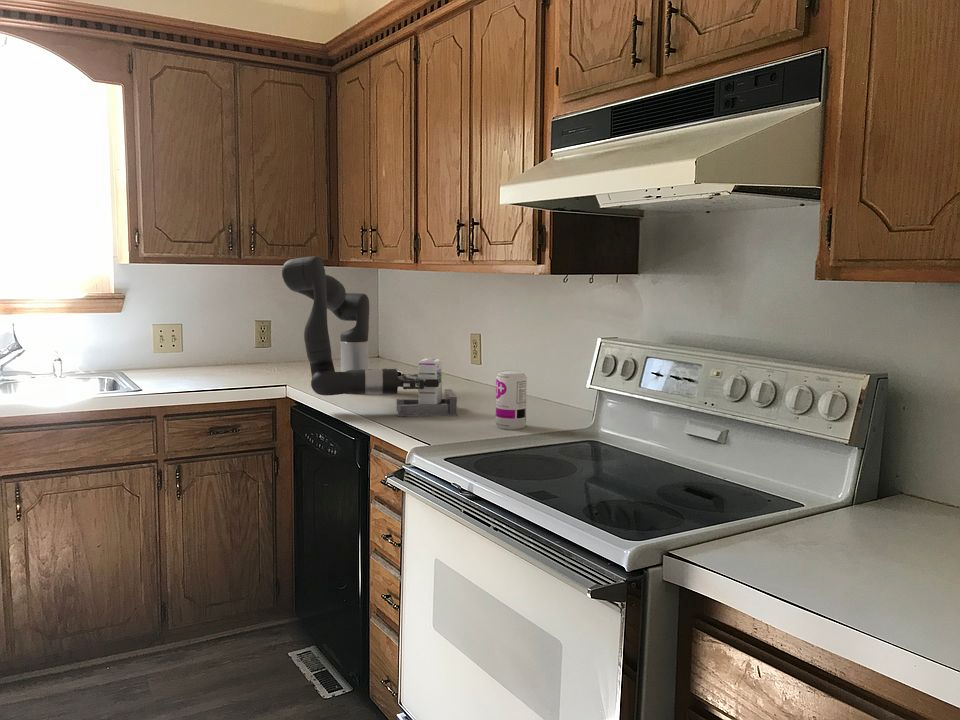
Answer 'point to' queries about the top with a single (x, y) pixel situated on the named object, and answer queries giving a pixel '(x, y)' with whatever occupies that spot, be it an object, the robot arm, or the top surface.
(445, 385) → the top surface
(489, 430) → the top surface
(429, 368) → the syrup box
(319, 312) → the robot arm
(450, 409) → the bracket
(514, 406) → the supplement can
